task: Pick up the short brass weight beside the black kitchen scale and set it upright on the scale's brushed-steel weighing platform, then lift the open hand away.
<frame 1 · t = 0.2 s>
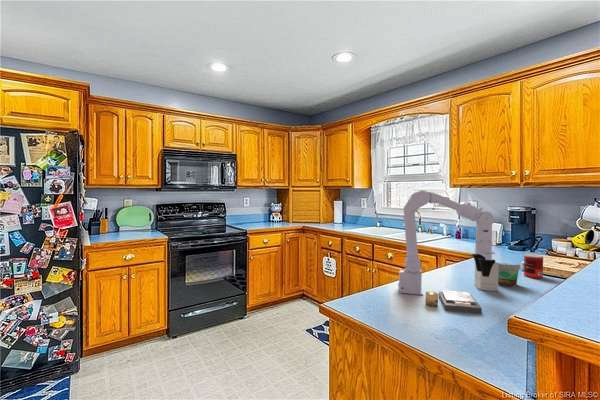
hand: (482, 273, 126), 10 cm above the counter, tool pointing down, fingers open, 7 cm apart
canned food: (533, 277, 156), on the counter
brass weight: (431, 304, 119), on the counter
supplement box: (485, 288, 139), on the counter
scale: (458, 304, 119), on the counter
food container: (505, 285, 143), on the counter
weighing platform: (457, 296, 121), point 3 cm above the counter, slide at -0.3 cm
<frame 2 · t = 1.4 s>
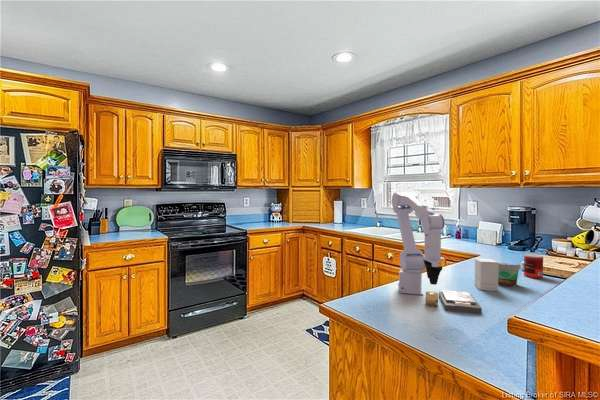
hand: (432, 281, 119), 9 cm above the counter, tool pointing down, fingers open, 7 cm apart
nothing on the counter moved.
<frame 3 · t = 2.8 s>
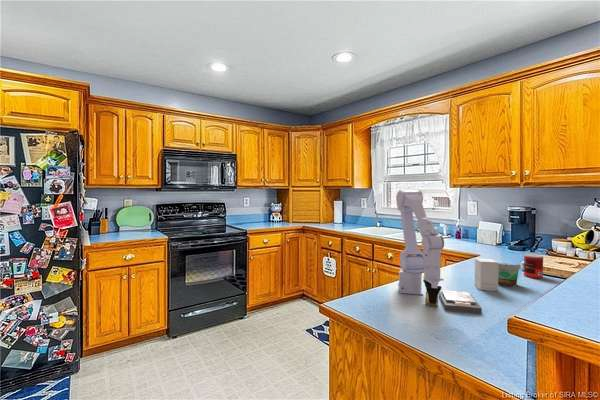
hand: (431, 301, 119), 1 cm above the counter, tool pointing down, fingers closed on brass weight, 4 cm apart
brass weight: (431, 304, 119), on the counter, touching gripper
everything else where it was.
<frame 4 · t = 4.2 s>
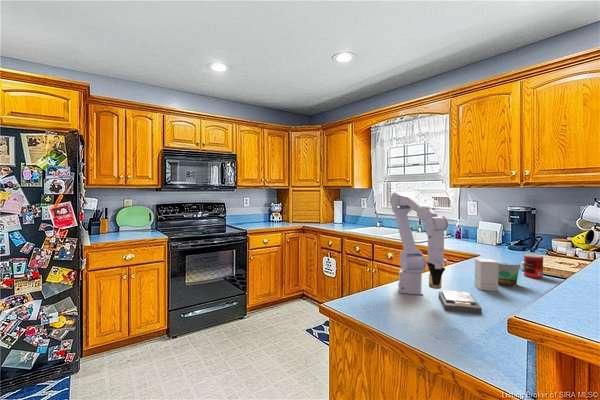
hand: (435, 282, 119), 8 cm above the counter, tool pointing down, fingers closed on brass weight, 4 cm apart
brass weight: (435, 287, 119), point 7 cm above the counter, touching gripper
everything else where it was.
when the fingers open (6 cm above the counter, at t = 5.9 s): brass weight drops 2 cm, resting on weighing platform.
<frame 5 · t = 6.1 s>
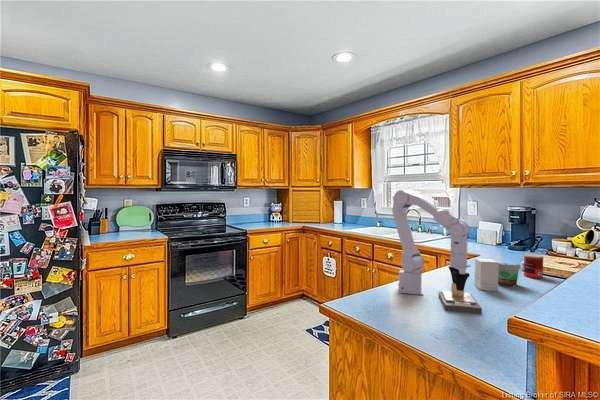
hand: (458, 287, 120), 6 cm above the counter, tool pointing down, fingers open, 6 cm apart
brass weight: (457, 296, 121), point 3 cm above the counter, touching weighing platform
weighing platform: (457, 296, 121), point 2 cm above the counter, slide at -0.4 cm, touching brass weight
everything else where it was.
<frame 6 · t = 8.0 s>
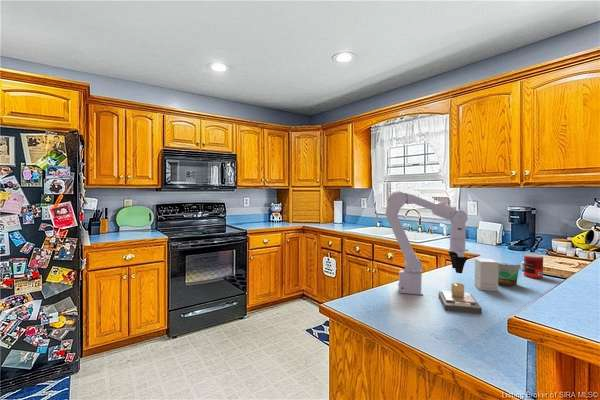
hand: (457, 270, 130), 10 cm above the counter, tool pointing down, fingers open, 7 cm apart
nothing on the counter moved.
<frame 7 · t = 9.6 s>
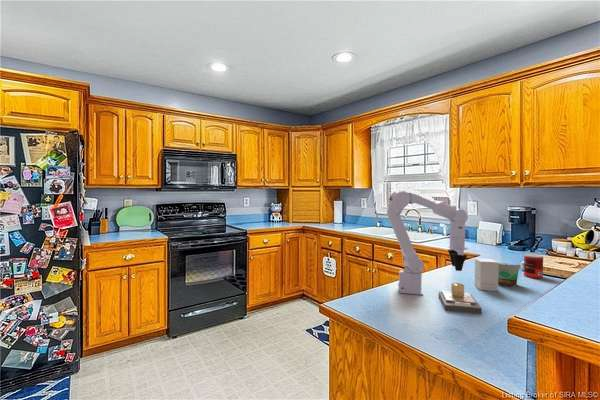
hand: (456, 268, 133), 10 cm above the counter, tool pointing down, fingers open, 7 cm apart
nothing on the counter moved.
at the end: brass weight 0.2 cm from the target spot on the scale, point 2.8 cm above the scale's base; brass weight tilted 0°; the gripper is holding nothing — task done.
